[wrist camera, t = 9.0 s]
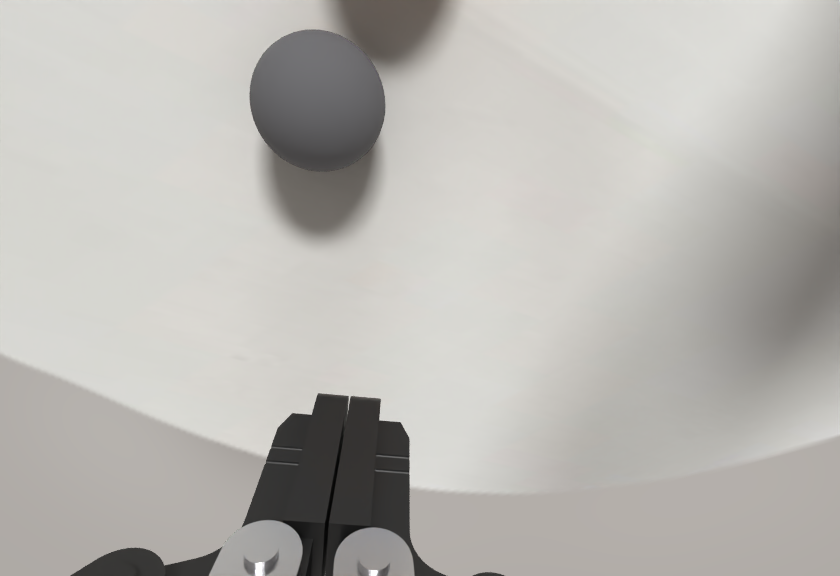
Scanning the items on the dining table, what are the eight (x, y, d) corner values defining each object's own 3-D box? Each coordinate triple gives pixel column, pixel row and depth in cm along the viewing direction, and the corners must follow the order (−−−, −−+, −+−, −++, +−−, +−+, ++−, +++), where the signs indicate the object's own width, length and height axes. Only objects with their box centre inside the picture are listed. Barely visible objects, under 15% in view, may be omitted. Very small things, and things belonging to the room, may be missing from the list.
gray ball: (348, 181, 18) (420, 148, 22) (305, 15, 16) (393, 12, 20) (247, 191, 21) (328, 160, 25) (199, 50, 19) (296, 42, 23)
